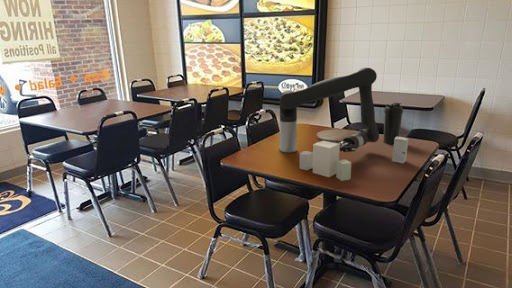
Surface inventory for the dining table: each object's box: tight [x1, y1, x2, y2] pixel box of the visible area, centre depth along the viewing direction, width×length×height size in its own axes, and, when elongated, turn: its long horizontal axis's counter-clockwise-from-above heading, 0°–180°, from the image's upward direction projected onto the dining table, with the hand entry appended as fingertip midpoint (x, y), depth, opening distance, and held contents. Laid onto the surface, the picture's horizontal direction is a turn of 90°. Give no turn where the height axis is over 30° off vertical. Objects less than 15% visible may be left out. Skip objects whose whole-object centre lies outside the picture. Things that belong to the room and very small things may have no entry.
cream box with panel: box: [312, 140, 340, 178], centre depth 171 cm, size 8×9×14 cm
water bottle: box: [383, 102, 404, 145], centre depth 212 cm, size 10×10×23 cm
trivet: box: [316, 129, 357, 143], centre depth 229 cm, size 25×25×2 cm
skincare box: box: [391, 136, 410, 164], centre depth 182 cm, size 6×4×12 cm
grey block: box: [299, 150, 313, 171], centre depth 178 cm, size 4×4×8 cm
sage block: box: [335, 159, 352, 182], centre depth 164 cm, size 4×4×8 cm
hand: (334, 150), depth 175 cm, fingers closed
